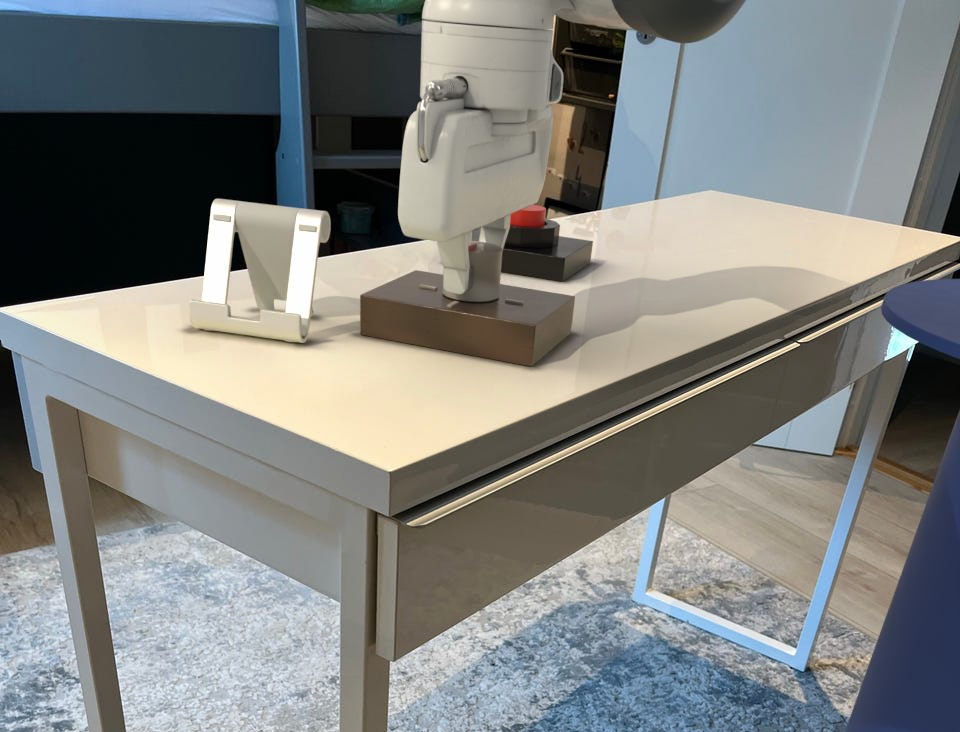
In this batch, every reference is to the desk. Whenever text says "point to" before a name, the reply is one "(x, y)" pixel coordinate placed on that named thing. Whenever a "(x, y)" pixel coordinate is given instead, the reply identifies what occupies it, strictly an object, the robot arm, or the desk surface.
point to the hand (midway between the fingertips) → (472, 283)
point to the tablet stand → (262, 268)
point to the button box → (542, 252)
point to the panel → (467, 319)
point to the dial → (482, 273)
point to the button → (529, 216)
